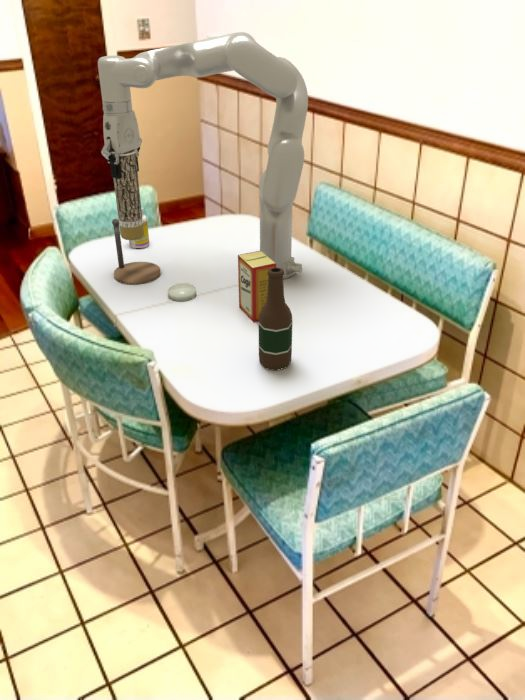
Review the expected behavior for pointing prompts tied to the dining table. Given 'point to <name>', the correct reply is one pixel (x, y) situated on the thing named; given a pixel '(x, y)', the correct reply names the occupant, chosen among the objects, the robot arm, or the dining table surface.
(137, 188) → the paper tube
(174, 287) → the sage dish
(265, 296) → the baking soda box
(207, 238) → the dining table surface
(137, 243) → the supplement bottle
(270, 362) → the beer bottle
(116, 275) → the holder base
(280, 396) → the dining table surface
